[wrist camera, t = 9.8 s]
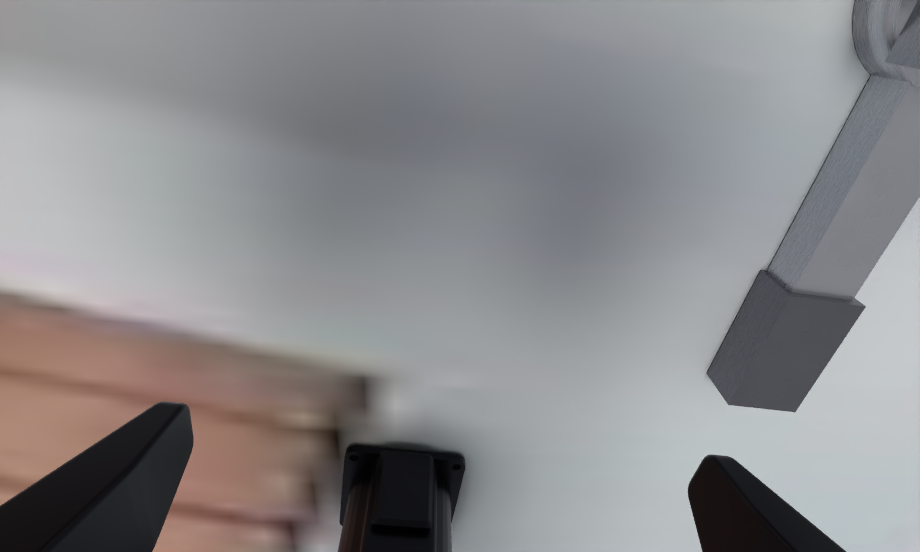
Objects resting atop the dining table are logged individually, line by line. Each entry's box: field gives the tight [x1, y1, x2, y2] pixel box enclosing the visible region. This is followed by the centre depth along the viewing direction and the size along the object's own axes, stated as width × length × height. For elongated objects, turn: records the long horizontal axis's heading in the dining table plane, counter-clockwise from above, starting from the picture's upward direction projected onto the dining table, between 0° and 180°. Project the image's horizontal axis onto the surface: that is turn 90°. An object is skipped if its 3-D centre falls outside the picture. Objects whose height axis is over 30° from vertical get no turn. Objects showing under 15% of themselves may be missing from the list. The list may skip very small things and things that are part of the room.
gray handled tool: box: [707, 0, 920, 412], centre depth 18 cm, size 21×7×6 cm, turn 171°
